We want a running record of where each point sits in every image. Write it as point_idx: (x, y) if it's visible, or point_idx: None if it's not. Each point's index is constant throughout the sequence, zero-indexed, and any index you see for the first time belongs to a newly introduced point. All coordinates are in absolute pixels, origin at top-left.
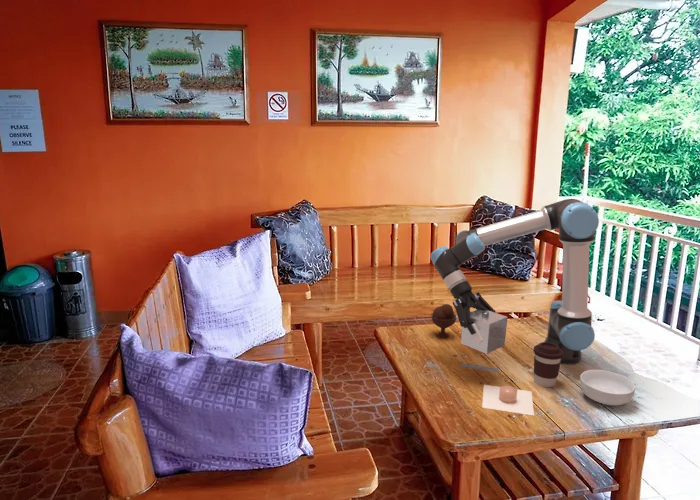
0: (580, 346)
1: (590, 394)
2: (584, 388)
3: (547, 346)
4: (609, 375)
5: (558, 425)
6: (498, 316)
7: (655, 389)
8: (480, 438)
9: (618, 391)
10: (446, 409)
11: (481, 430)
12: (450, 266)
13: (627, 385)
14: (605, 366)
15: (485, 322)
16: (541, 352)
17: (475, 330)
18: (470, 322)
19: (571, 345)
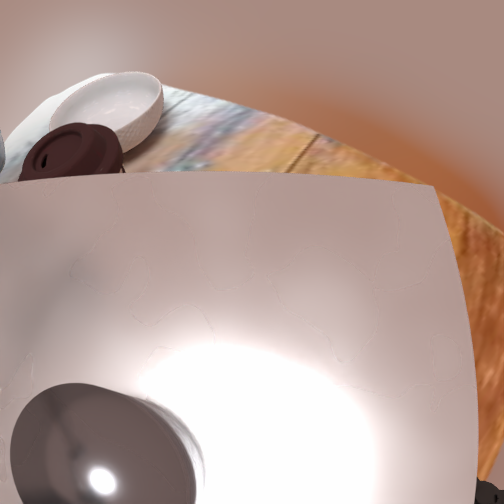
0: (1, 139)
1: (155, 120)
2: (143, 128)
3: (53, 160)
4: (57, 125)
5: (306, 145)
6: (13, 260)
7: (37, 120)
8: (486, 227)
9: (86, 123)
10: (487, 354)
11: (471, 240)
12: None
13: (82, 101)
14: None
15: (448, 256)
16: (104, 161)
17: None
18: (482, 498)
19: (2, 151)
